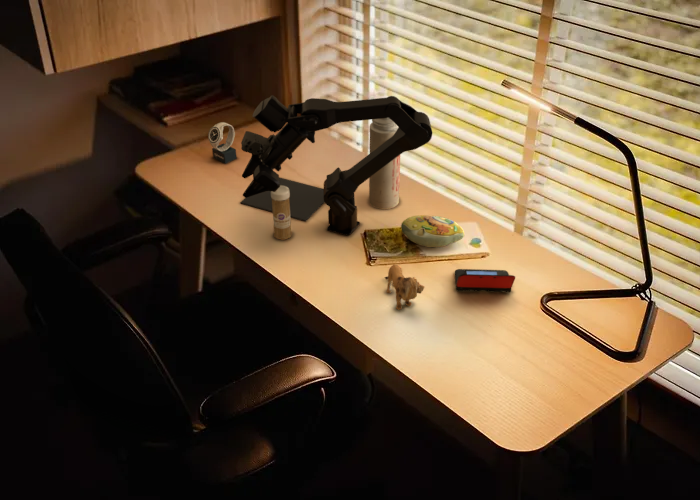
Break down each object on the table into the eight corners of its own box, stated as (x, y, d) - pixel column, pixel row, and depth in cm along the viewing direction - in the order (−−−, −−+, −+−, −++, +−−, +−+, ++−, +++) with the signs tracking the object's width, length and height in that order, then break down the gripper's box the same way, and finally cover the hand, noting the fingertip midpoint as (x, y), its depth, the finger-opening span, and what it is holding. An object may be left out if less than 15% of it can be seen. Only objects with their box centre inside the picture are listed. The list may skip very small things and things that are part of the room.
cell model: (405, 214, 202) (461, 203, 196) (413, 242, 204) (469, 232, 198) (393, 228, 193) (451, 217, 187) (402, 257, 195) (460, 247, 189)
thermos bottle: (404, 199, 213) (408, 103, 196) (387, 212, 207) (390, 114, 191) (380, 190, 217) (382, 95, 200) (363, 202, 211) (363, 106, 195)
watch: (207, 160, 231) (203, 126, 225) (228, 150, 236) (225, 117, 230) (220, 166, 228) (216, 132, 222) (241, 156, 233) (238, 122, 227)
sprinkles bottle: (276, 241, 197) (272, 195, 189) (272, 231, 200) (268, 186, 193) (294, 238, 198) (291, 192, 190) (289, 228, 201) (286, 183, 194)
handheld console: (507, 273, 185) (511, 247, 181) (512, 302, 177) (516, 276, 172) (453, 272, 186) (456, 246, 182) (456, 300, 177) (458, 274, 173)
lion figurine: (425, 313, 174) (427, 280, 169) (404, 320, 172) (405, 287, 167) (394, 276, 185) (395, 245, 179) (374, 282, 183) (374, 251, 178)
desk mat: (334, 192, 216) (334, 191, 216) (305, 221, 204) (305, 220, 204) (271, 176, 223) (271, 175, 223) (240, 203, 212) (240, 202, 211)
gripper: (257, 105, 191) (217, 149, 196) (261, 141, 176) (217, 188, 181) (292, 132, 196) (252, 174, 202) (298, 169, 181) (254, 213, 187)
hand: (243, 186), depth 193 cm, fingers open, 9 cm apart
